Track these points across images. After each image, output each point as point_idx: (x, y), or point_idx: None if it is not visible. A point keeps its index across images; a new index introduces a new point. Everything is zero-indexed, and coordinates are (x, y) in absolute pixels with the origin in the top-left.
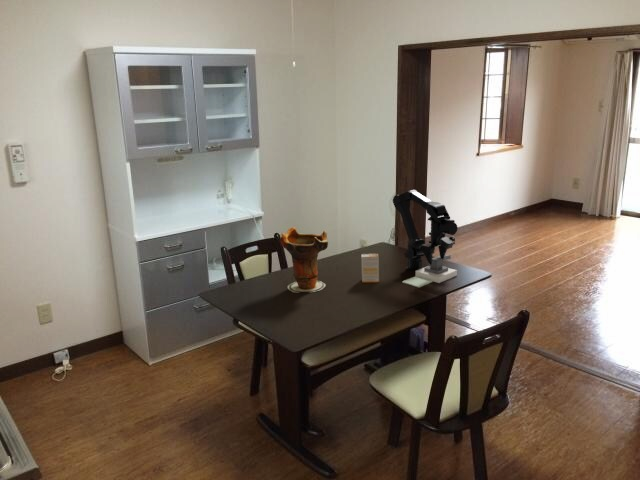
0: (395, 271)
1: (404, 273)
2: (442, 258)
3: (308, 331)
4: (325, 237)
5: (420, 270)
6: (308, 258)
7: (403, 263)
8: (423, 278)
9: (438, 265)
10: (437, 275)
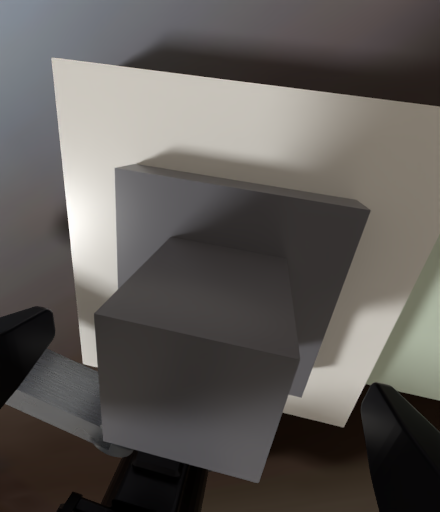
0: (292, 492)
1: (299, 449)
2: (32, 328)
3: None
4: None
5: (309, 398)
6: None
7: None
8: None
9: (252, 277)
10: (399, 185)
